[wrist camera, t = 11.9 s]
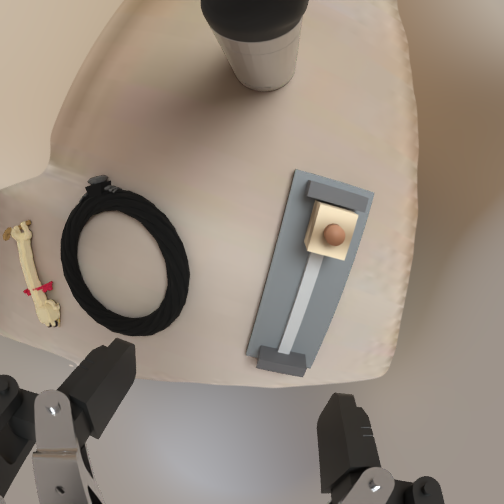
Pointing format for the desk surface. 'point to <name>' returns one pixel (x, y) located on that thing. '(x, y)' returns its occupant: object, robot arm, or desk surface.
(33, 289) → the cat figure
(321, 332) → the rail board
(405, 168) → the desk surface
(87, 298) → the cable lock
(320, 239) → the keeper
